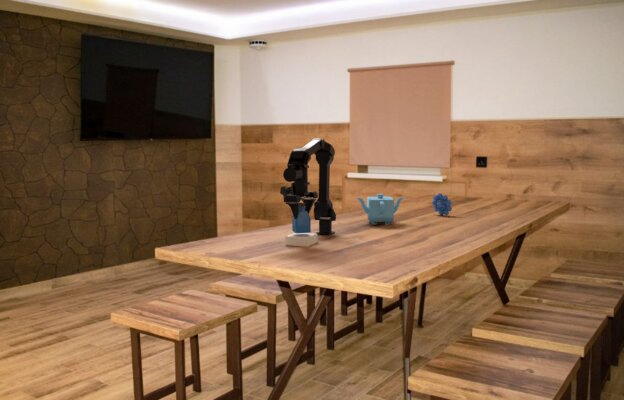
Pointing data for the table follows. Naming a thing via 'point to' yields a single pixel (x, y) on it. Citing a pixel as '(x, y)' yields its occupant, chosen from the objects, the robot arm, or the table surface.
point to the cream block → (301, 239)
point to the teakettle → (380, 208)
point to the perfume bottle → (302, 221)
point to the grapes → (441, 204)
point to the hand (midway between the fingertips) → (301, 217)
